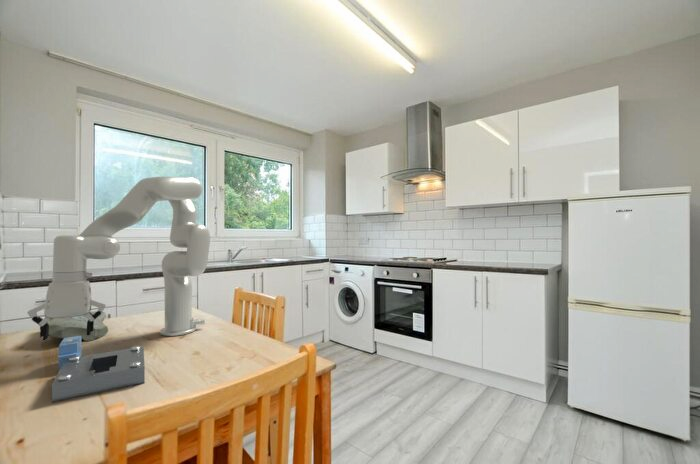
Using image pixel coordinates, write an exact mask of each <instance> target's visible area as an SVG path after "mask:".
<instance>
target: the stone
mask: <svg viewBox="0 0 700 464" xmlns="http://www.w3.org/2000/svg"><path fill="white" fill-rule="evenodd" d="M97 311H98V310H96V311H90V312H91V313H92V314H95V313H96V312H97ZM105 318H107V314H106V312H105V311H102V313H101V314H100V315H99V316H98V317H97V318H96V319H95V320H94V330H93V331H91V333H90V335H87V322H88V319H87V318H86V317H85V316H76V317H65V318H53V319H50V320H49V321H48V324H49V337H51V338H57V339H64V338H68V337H75V336H81V340H83V341H85V342H90V341H91V342H92V341H94V340H96V339H99V338H102V337H103V336H105V335H106V334H107V333H108V332H109V328H108V326H106V324H105V323H104V320H105Z"/></svg>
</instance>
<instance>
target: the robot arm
mask: <svg viewBox="0 0 700 464" xmlns="http://www.w3.org/2000/svg"><path fill="white" fill-rule="evenodd" d="M202 193H203V185H202V183H201V182H200V181H199V180H198V179H197V178H196V177H191V176H152V177H144V178H143V179H140V180H139V181H138V182H137V183H136V184H135V185H134V186H133V187H132V188H131V189H130V190H129V191H128V192H127V194H126V195H124V197H123V198H122V199H121V200H120V201H119V202H118V203H117V204H116V205H115V206H114V207H112V208H111V209H109V210H107V211H106V212H105V213H103V214H102V215H101V216H99V217H98V218H96V219H94V220H93V221H92V222H91V223H90V224H89V225H88V226H87V227H86V228H85V229H84V230H82V232H80V234H79V235H58V236H55V238H54V240H53V255H52V257H53V258H52V278H51V279H52V280H51V282H50V283H49V284H48V286H47V291H46V294H45V302H44V303H43V304H40V305H38V306H36V307H34V308H32V309H29V310H28V311H27V315H28V316H29V318H30V319H31V321H32V322H33V323H36V324H37V325H38V326H39V330H40V331H39V332H40V333H39V338H42V341H47V340H48V339H49V337H50V336H49V324H48V321H49V320H50V319H53V318H65V317H76V316H85V317H86V318H87V319H88V322H87V335H90V333H91V331H93V330H94V320H95V319H96V318H97V317H98V316H99V315H100V314H101V313H102V312H104V309H105V308H106V306H107V305H106V304H105V303H102V302H99V301H96V300H94V299H92V287H91V283H90V281H89V280H87V279H90V278H93V272H89V271H87V260H88V259H89V260H90V259H92V260H94V259H95V260H110V259H112V258H115V257H116V256H117V255H118V254H119V252H120V250H121V245H120V242H119V240H118V239H116V238H115V237H112V236H114V235H115V234H117V233H119V232H121V231H122V230H124V229H126V228H127V229H128V228H129V227H132V226H134V225H136V224H139V222H141V221H142V220H143V219H144V217H145V216H146V215H147V214H148V212H149V211H150V210H151V209H152V208H153V207H154V205H155V204H156V203H157V202H163V201H165V202H166V201H168V203H169V204H170V206H171V209H172V221H171V228H170V235H169V241H170V244H171V245H172V246H174V247H176V248H185V249H186V251H185V250H175V251H170V252H168V253H166V254H165V255H164V256H163V258H162V260H161V270H162V274H163V283H164V327H163V328H161V329H160V330H159V334H160V335H162V336H164V337H172V336H173V337H177V336H184V335H188V334H190V333H193V332H195V331H196V330H197V325H205V323H206V321H205V318H196V319H194V318H193V315H192V313H193V309H192V308H193V305H192V302H193V298H192V297H193V295H192V294H193V293H192V292H193V285H192V281H191V278H190V277H199V276H201V275H202V274H203V273H204V272H205V270H206V269H207V265H208V260H209V253H210V245H211V234H210V231H209V229H208V228H207V227H206V226H205V225H204V224H201V223H197V215H198V214H197V208H196V205H195V204H194V203H193V201H192V200H196V199H198V198H200V197H201V195H202ZM92 306H93V307H96V308H98V309H97V310H96V311H97V312H96V313H95V314H92V313H91V312H92V311H91V310H92ZM42 310H44V318H42V317H40V316H39V315H38V314H37V313H38V312H40V311H42Z"/></svg>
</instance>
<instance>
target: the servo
mask: <svg viewBox="0 0 700 464" xmlns="http://www.w3.org/2000/svg"><path fill="white" fill-rule="evenodd" d="M82 346H83V343H82V338H81V336H75V337H68V338H62V340H61V342H60V343H59V345H58V356H57V360H58V372H59V371H60V369H61V367H62V365H63V364H64V362H65V360H66V359H68V358H70V357H73V356H82Z"/></svg>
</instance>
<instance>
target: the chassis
mask: <svg viewBox="0 0 700 464" xmlns="http://www.w3.org/2000/svg"><path fill="white" fill-rule="evenodd" d="M144 349H145V348H144V345H143V346H140V345H137V346H136V345H135V346H132V347H130V348H125V349H118V350H111V351H106V352H100V353H94V354H87V355H81V356H73V357H70V358H68V359H66V360H65V362H64V364H63V365H62V367H61V369H60V371H59V370H58V373H57V374H56V376H55V378H54V380H53V382H52V383H51V403H56V402H61V401H62V402H63V401H65V400H66V401H68V400H71V399H76V398H81V397H85V396H90V395H95V394H101V393H104V392H109V391H113V390H118V389H123V388H128V387H132V386H137V385H141V384H146V383H145V381H146V380H145V370H146V369H145V352H144V351H145V350H144Z"/></svg>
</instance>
